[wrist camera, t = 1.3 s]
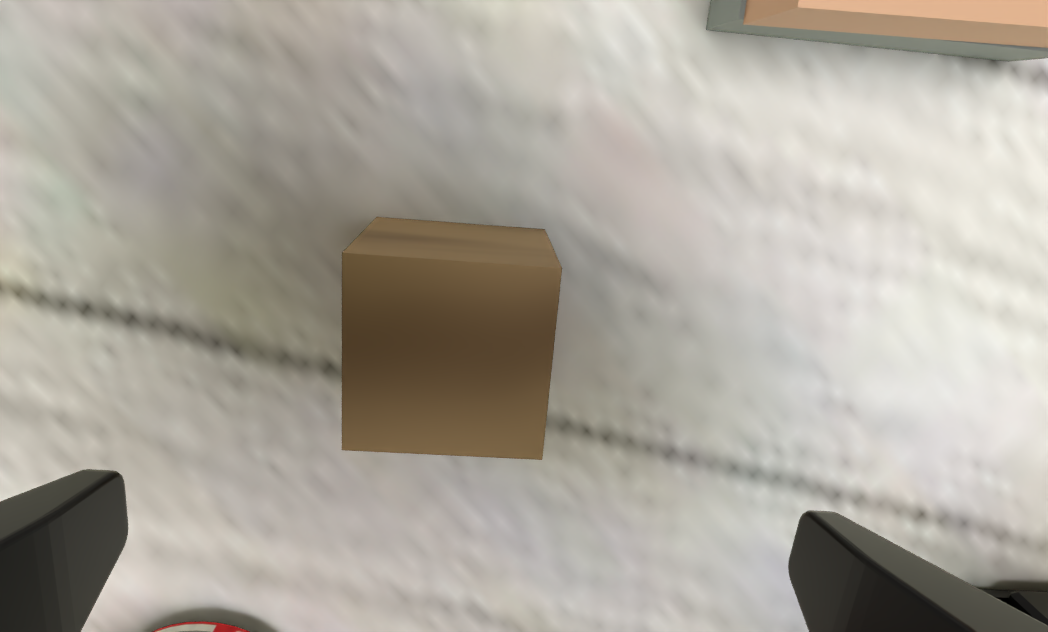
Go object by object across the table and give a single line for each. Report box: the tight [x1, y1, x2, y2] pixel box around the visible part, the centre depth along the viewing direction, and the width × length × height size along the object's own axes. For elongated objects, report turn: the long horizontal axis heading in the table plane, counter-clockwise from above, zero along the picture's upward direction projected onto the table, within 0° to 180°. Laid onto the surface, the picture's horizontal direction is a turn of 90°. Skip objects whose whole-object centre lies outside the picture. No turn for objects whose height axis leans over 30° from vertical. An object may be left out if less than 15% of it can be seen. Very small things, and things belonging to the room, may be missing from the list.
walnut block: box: [342, 217, 562, 460], centre depth 18 cm, size 5×5×5 cm
